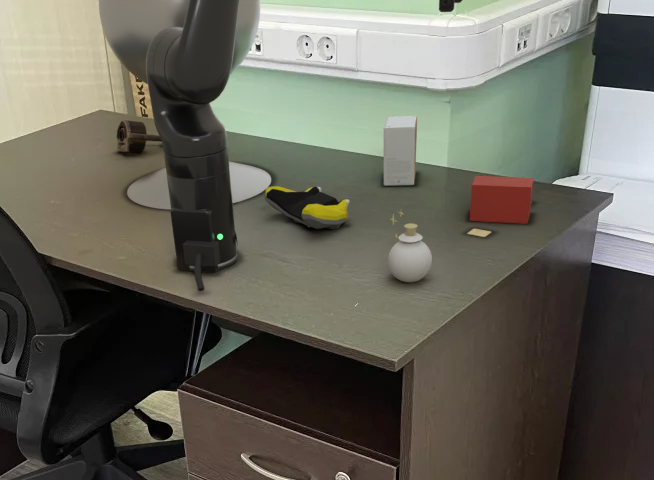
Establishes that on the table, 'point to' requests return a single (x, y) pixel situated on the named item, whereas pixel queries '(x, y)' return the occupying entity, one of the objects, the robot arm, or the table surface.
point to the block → (501, 199)
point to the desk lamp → (131, 50)
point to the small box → (400, 150)
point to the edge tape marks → (479, 232)
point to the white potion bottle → (409, 255)
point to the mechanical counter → (133, 136)
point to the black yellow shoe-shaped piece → (309, 206)
